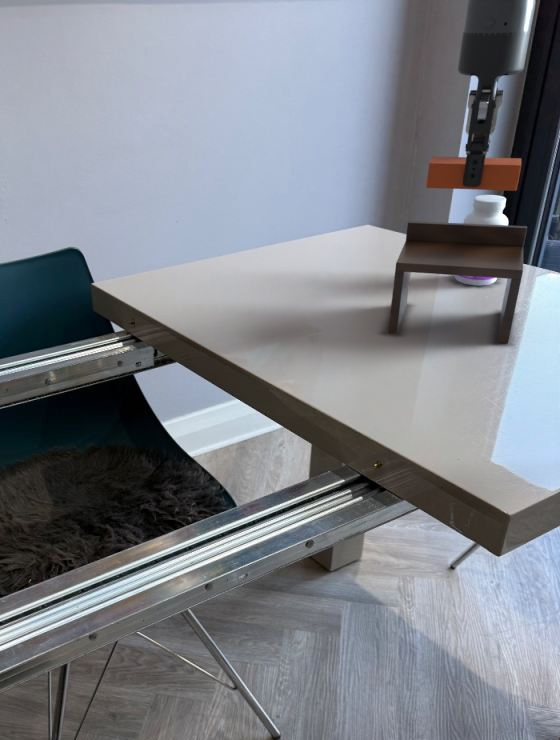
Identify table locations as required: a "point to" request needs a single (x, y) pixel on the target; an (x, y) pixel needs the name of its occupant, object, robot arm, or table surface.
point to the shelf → (461, 261)
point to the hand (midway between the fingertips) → (472, 181)
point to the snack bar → (493, 177)
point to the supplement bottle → (489, 214)
